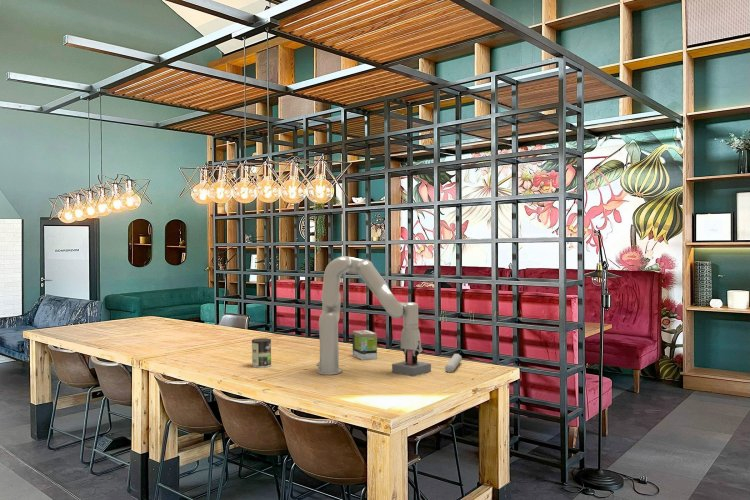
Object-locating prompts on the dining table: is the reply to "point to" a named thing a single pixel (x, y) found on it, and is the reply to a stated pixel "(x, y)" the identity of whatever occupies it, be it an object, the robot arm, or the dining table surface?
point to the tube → (453, 363)
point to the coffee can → (261, 353)
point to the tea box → (365, 344)
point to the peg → (409, 357)
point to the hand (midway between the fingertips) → (411, 362)
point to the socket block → (411, 368)
